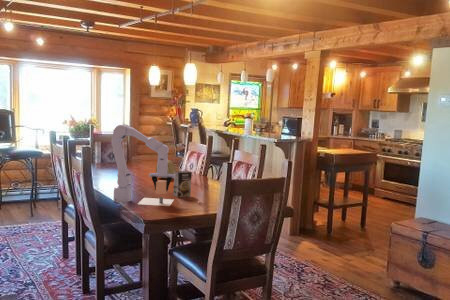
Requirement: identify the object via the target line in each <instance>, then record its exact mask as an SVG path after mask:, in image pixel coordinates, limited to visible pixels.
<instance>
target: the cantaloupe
mask: <svg viewBox="0 0 450 300" xmlns="http://www.w3.org/2000/svg"><path fill="white" fill-rule="evenodd" d="M175 171H176V165H175V164H174V162H172V160H170V159H168V169H167V174H174V172H175ZM155 173H157V165H156V166H155ZM164 177H165V176H164ZM160 178H161V179H164V178H163V177H160Z"/></svg>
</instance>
